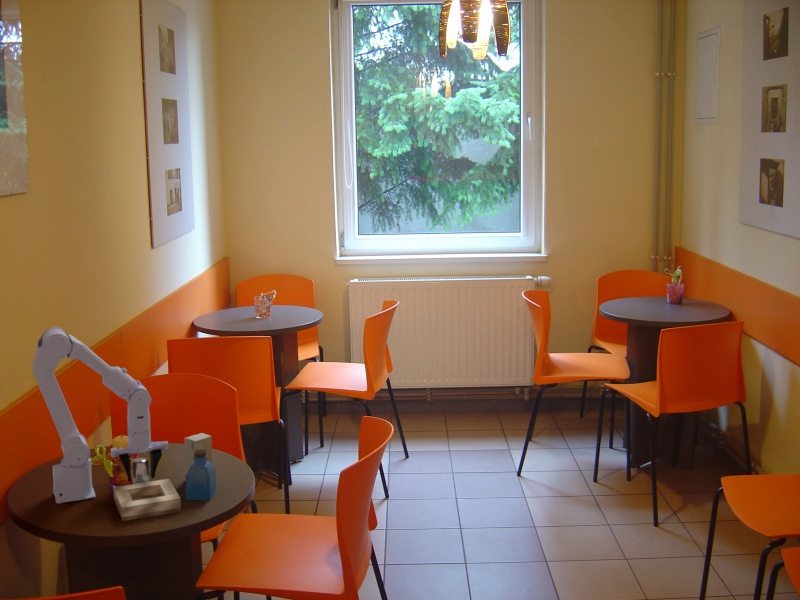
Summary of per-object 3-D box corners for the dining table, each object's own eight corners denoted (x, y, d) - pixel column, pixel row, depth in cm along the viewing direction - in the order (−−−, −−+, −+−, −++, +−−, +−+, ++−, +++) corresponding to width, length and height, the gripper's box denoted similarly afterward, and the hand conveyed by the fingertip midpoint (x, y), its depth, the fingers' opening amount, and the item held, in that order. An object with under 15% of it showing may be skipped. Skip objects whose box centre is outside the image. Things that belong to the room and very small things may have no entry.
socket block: (122, 521, 206) (121, 507, 206) (113, 500, 219) (113, 487, 218) (180, 511, 212) (180, 498, 212) (169, 491, 225) (168, 478, 224)
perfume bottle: (192, 490, 226) (191, 447, 224) (215, 491, 226) (214, 447, 224) (186, 499, 220) (184, 455, 218) (210, 500, 219) (209, 456, 217)
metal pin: (134, 489, 226) (133, 464, 224) (132, 484, 229) (131, 459, 228) (150, 487, 227) (149, 462, 226) (147, 481, 231) (146, 457, 230)
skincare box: (194, 484, 229) (193, 441, 227) (184, 480, 232) (183, 438, 230) (213, 477, 234) (212, 435, 232) (202, 474, 237) (201, 432, 235)
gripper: (112, 438, 219) (114, 488, 221) (170, 430, 225) (171, 479, 228) (108, 430, 225) (111, 478, 227) (164, 423, 232) (166, 470, 234)
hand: (141, 478), depth 228 cm, fingers open, 5 cm apart
